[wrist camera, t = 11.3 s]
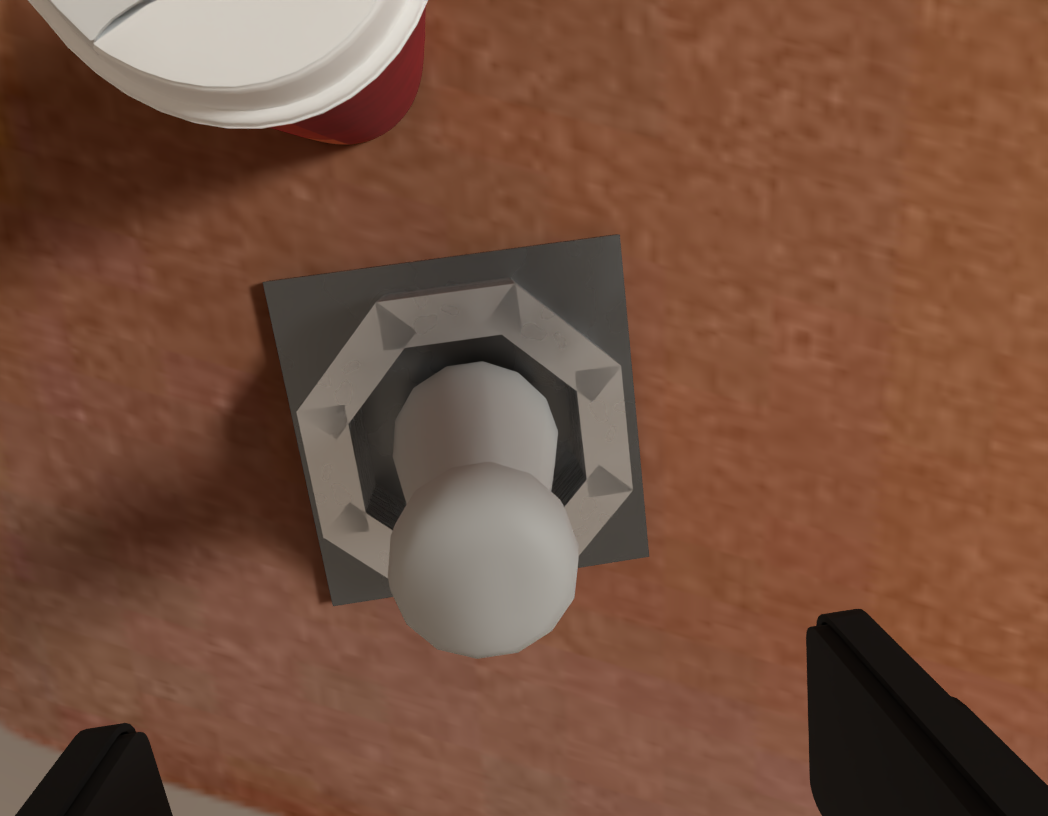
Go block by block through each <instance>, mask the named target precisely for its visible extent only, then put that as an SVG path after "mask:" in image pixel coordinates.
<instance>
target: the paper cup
mask: <svg viewBox="0 0 1048 816" xmlns="http://www.w3.org/2000/svg"><path fill="white" fill-rule="evenodd" d="M28 1H29V2H30V3H31V4H32V6H33V7H34V8H35V9H36V10H37V11H38V12H39V14H40V15H41V16H42V17H43V18H44V19H45V21H46V22H47V23H48V24H49V25H50V27H51V28H52V29H53V30H54V31H55V33H56V34H57V35H58V36H59V37H60V39H61V40H62V41H63V42H64V43H65V45H66V46H67V47H68V48H69V49H70V50H71V51H72V52H73V53H75V54H76V55H77V56H78V57H79V58H80V59H81V60H82V61H83V62H84V63H85V64H86V65H88V66H89V67H90V68H91V69H92V70H93V71H94V72H95V73H96V74H98V75H99V76H101V77H102V78H103V79H105V80H106V81H108V82H109V83H111V84H112V85H114V86H115V87H116V88H118V89H119V90H121V91H122V92H124V93H125V94H126V95H128V96H130V97H132V98H134V99H136V100H138V101H140V102H142V103H144V104H146V105H148V106H150V107H152V108H154V109H156V110H158V111H160V112H163V113H166V114H169V115H172V116H175V117H178V118H181V119H184V120H187V121H190V122H193V123H198V124H204V125H210V126H216V127H222V128H228V129H263V128H273V129H276V130H280V131H283V132H287V133H290V134H294V135H297V136H301V137H304V138H308V139H312V140H316V141H320V142H325V143H331V144H357V143H362V142H366V141H370V140H372V139H375V138H377V137H379V136H381V135H383V134H385V133H386V132H388V131H389V130H390V129H392V128H393V127H394V126H395V125H396V124H397V123H398V122H399V121H400V120H401V119H402V118H403V117H404V116H405V114H406V113H407V111H408V110H409V108H410V107H411V105H412V103H413V101H414V99H415V96H416V94H417V91H418V88H419V85H420V80H421V76H422V69H423V59H424V42H425V6H426V4H427V1H428V0H28Z"/></svg>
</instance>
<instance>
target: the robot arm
mask: <svg viewBox="0 0 1048 816" xmlns="http://www.w3.org/2000/svg"><path fill="white" fill-rule="evenodd" d="M806 647H807V686H808V726H809V766H810V785H811V790H812V794H813V797H814V800H815V802H816V805H817V807H818V809H819V811H820V813H821V815H822V816H1048V785H1047V784H1046V783H1045V782H1043V781H1042V780H1041V779H1040V778H1039V777H1038V776H1037V775H1036V774H1035V773H1034V772H1033V771H1032V770H1031V769H1030V768H1029V767H1028V766H1027V765H1026V764H1025V763H1024V762H1023V761H1022V760H1021V759H1020V758H1019V757H1018V756H1017V755H1016V754H1015V753H1014V752H1013V751H1012V750H1011V749H1010V748H1009V747H1008V746H1007V745H1006V744H1005V743H1004V742H1003V741H1002V740H1001V739H1000V738H999V737H998V736H997V735H996V734H995V733H994V732H993V731H992V730H991V729H990V728H989V727H987V726H986V725H985V724H984V723H983V722H982V721H981V720H980V719H979V718H978V717H977V716H976V715H975V714H974V713H973V712H972V711H971V710H970V709H969V708H968V707H967V706H966V705H965V704H963V703H962V702H961V701H960V700H958V699H957V698H955V697H951V696H950V695H949V694H948V693H947V692H946V691H945V690H944V689H943V688H942V687H941V686H940V685H939V684H938V683H937V682H936V681H935V680H934V679H933V678H932V677H931V676H930V675H929V674H928V673H927V672H926V671H925V670H924V669H923V668H922V667H921V666H920V665H919V664H918V663H917V662H916V661H914V660H913V659H912V658H911V657H910V656H909V655H908V654H907V653H906V652H905V651H904V650H903V649H902V648H901V647H900V646H899V645H898V644H897V643H896V642H895V641H894V640H893V639H892V638H891V637H890V636H889V635H888V634H887V633H886V632H885V631H884V630H883V629H882V628H881V627H880V626H879V625H878V624H877V623H876V622H875V621H874V620H873V619H872V618H871V617H870V616H869V615H868V614H867V613H866V612H865V611H863V610H862V609H853V610H846V611H840V612H834V613H827V614H821V615H820V616H819V617H818V619H817V625H816V626H813V627H809V628H808V630H807V634H806ZM15 816H173V815H172V812H171V809H170V806H169V803H168V800H167V796H166V793H165V790H164V787H163V783H162V780H161V777H160V774H159V771H158V768H157V764H156V761H155V758H154V755H153V752H152V749H151V745H150V742H149V740H148V737H147V735H145V734H144V733H143V732H136V731H135V729H134V728H133V727H132V726H131V725H130V724H127V723H122V724H116V725H109V726H103V727H96V728H90V729H85V730H83V731H80V732H79V733H78V734H77V735H76V736H75V737H74V739H73V740H72V741H71V743H70V744H69V745H68V746H67V748H66V749H65V750H64V752H63V753H62V754H61V756H60V757H59V758H58V760H57V761H56V762H55V764H54V765H53V767H52V768H51V769H50V770H49V772H48V773H47V774H46V776H45V777H44V778H43V780H42V781H41V782H40V783H39V785H38V786H37V787H36V789H35V790H34V791H33V793H32V794H31V795H30V797H29V798H28V799H27V801H26V802H25V803H24V805H23V806H22V807H21V809H20V810H19V811H18V813H17V814H16V815H15Z"/></svg>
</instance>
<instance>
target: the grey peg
mask: <svg viewBox="0 0 1048 816" xmlns="http://www.w3.org/2000/svg"><path fill="white" fill-rule="evenodd" d="M557 438H558V430H557V427H556V425H555V422H554V419H553V416H552V413H551V411H550V408H549V405H548V402H547V399H546V398H545V397H544V396H543V395H542V394H541V393H540V392H539V391H538V390H537V389H535V388H534V387H533V386H532V385H531V384H530V383H529V382H528V381H527V380H526V379H525V378H524V377H523V376H521V375H520V374H519V373H518V372H515V371H512V370H509V369H506V368H503V367H499V366H496V365H493V364H490V363H487V362H483V361H480V362H473V363H466V364H459V365H452V366H446V367H445V368H443V369H442V370H440V371H439V372H437V373H435V374H434V375H432V376H431V377H429V378H428V379H426V380H425V381H423V382H422V383H420V384H419V385H417V386H416V387H414V388H413V390H412V391H411V393H410V395H409V397H408V398H407V400H406V402H405V404H404V405H403V407H402V409H401V411H400V412H399V414H398V416H397V418H396V419H395V429H394V443H393V460H394V463H395V466H396V470H397V473H398V477H399V480H400V483H401V487H402V490H403V494H404V497H405V500H406V504H407V505H406V507H405V508H404V510H403V512H402V513H401V515H400V517H399V518H398V520H397V522H396V524H395V526H394V528H393V531H392V534H391V538H390V552H389V566H388V581H389V587H390V590H391V593H392V595H393V597H394V599H395V601H396V603H397V605H398V607H399V609H400V611H401V613H402V616H403V618H404V620H405V622H406V624H407V625H408V626H409V627H411V628H412V629H413V630H414V631H415V632H417V633H418V634H419V635H420V636H422V637H423V638H424V639H425V640H427V641H428V642H429V643H430V644H432V645H433V646H434V647H435V648H436V649H438V650H442V651H447V652H451V653H455V654H459V655H464V656H468V657H472V658H476V659H479V658H485V657H492V656H498V655H505V654H512V653H518V652H520V651H521V650H523V649H524V648H526V647H527V646H529V645H530V644H532V643H534V642H535V641H537V640H538V639H540V638H541V637H543V636H545V635H546V634H548V633H549V632H551V631H552V630H553V628H554V627H555V626H556V624H557V623H558V621H559V620H560V618H561V617H562V615H563V614H564V612H565V611H566V609H567V608H568V606H569V605H570V604H571V602H572V601H573V599H574V595H575V586H576V577H577V568H578V557H579V546H578V543H577V540H576V538H575V535H574V532H573V529H572V526H571V524H570V521H569V518H568V515H567V513H566V510H565V508H564V506H563V504H562V502H561V500H560V499H559V498H558V497H557V496H556V495H554V494H553V493H552V492H551V490H552V482H553V475H554V468H555V458H556V448H557Z"/></svg>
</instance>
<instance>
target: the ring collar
mask: <svg viewBox="0 0 1048 816" xmlns="http://www.w3.org/2000/svg"><path fill="white" fill-rule="evenodd" d="M263 286H264V290H265V295H266V300H267V304H268V309H269V313H270V318H271V323H272V327H273V332H274V336H275V341H276V346H277V350H278V355H279V360H280V364H281V369H282V373H283V378H284V383H285V387H286V392H287V396H288V401H289V406H290V410H291V415H292V420H293V424H294V429H295V433H296V438H297V443H298V447H299V452H300V456H301V461H302V466H303V470H304V475H305V480H306V484H307V489H308V493H309V498H310V503H311V507H312V512H313V516H314V521H315V526H316V530H317V535H318V540H319V544H320V549H321V553H322V558H323V563H324V567H325V572H326V576H327V581H328V586H329V590H330V595H331V600H332V604H333V606H337V605H344V604H350V603H356V602H363V601H369V600H375V599H382V598H388V597H393V595H392V593H391V590H390V587H389V581H388V566H389V552H390V538H391V534H392V531H393V528H394V526H395V524H396V522H397V520H398V518H399V517H400V515H401V513H402V512H403V510H404V508H405V507H406V505H407V504H406V500H405V497H404V494H403V490H402V487H401V483H400V480H399V477H398V473H397V470H396V466H395V463H394V460H393V443H394V429H395V419H396V418H397V416H398V414H399V412H400V411H401V409H402V407H403V405H404V404H405V402H406V400H407V398H408V397H409V395H410V393H411V391H412V390H413V388H414V387H416V386H417V385H419V384H420V383H422V382H423V381H425V380H426V379H428V378H429V377H431V376H432V375H434V374H435V373H437V372H439V371H440V370H442V369H443V368H445V367H446V366H452V365H459V364H466V363H473V362H480V361H483V362H487V363H490V364H493V365H496V366H499V367H503V368H506V369H509V370H512V371H515V372H518V373H519V374H520V375H521V376H523V377H524V378H525V379H526V380H527V381H528V382H529V383H530V384H531V385H532V386H533V387H534V388H535V389H537V390H538V391H539V392H540V393H541V394H542V395H543V396H544V397H545V398H546V399H547V402H548V405H549V408H550V411H551V413H552V416H553V419H554V422H555V425H556V427H557V430H558V438H557V448H556V458H555V468H554V475H553V482H552V490H551V492H552V493H553V494H554V495H556V496H557V497H558V498H559V499H560V500H561V502H562V504H563V506H564V508H565V510H566V513H567V515H568V518H569V521H570V524H571V526H572V529H573V532H574V535H575V538H576V540H577V543H578V546H579V557H578V568H580V567H586V566H593V565H599V564H605V563H612V562H618V561H624V560H631V559H637V558H644V557H649V550H648V539H647V528H646V517H645V506H644V495H643V484H642V473H641V462H640V451H639V441H638V430H637V419H636V408H635V397H634V386H633V375H632V364H631V353H630V342H629V331H628V321H627V310H626V299H625V288H624V277H623V266H622V255H621V244H620V235H619V234H616V235H608V236H601V237H593V238H586V239H578V240H571V241H563V242H556V243H548V244H541V245H533V246H526V247H518V248H511V249H503V250H496V251H489V252H481V253H474V254H466V255H459V256H451V257H444V258H436V259H429V260H421V261H414V262H406V263H399V264H391V265H384V266H376V267H369V268H361V269H354V270H347V271H339V272H332V273H324V274H317V275H309V276H302V277H294V278H287V279H279V280H272V281H266V282H263Z"/></svg>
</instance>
